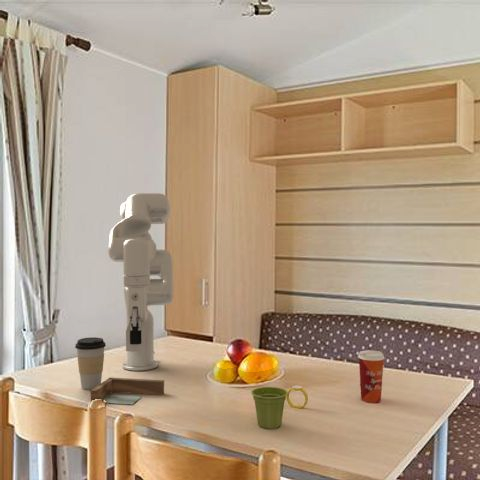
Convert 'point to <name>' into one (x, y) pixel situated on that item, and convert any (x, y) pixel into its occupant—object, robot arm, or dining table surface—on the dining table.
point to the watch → (297, 388)
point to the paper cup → (371, 375)
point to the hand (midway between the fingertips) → (137, 340)
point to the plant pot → (269, 406)
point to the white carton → (143, 338)
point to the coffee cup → (90, 361)
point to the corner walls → (126, 389)
